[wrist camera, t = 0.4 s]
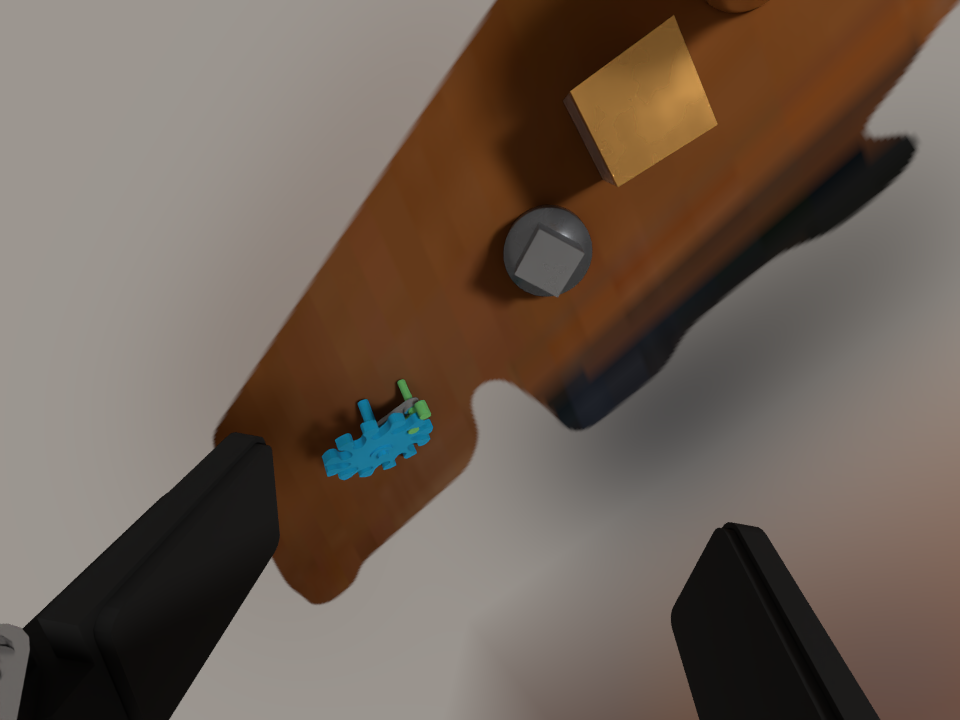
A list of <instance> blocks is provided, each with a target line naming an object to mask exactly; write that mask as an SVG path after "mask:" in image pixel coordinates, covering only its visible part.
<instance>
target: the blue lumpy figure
mask: <svg viewBox="0 0 960 720" xmlns="http://www.w3.org/2000/svg"><path fill="white" fill-rule="evenodd" d="M397 384H398V386H399V389H400V391H401V393H402V395H403V398H404V400H405V402H403V403H402V404H401V405H399V406H398V407H397V408H395V409H394V410H393V411H391V412H390V413H389V414H387V415H386V416H385V417H383V418H382V419H381V420H379V421H378V422H376V419H375V417H374V414H373V412H372V409H371V406H370V404H369V401H368V400H367V399H364V400H361V401H359V402H358V407H359V409H360V412H361V415H362V417H363V420H364V423H362V424H361V425H360V427H361V430H362V433H363V435H362V436H361V438H359V439H358V440H355V441H353V439H352V436H351V434H349V433H347V434H344V435H342V436H340V437H339V438H337V439H335V442H336V445H337V448H338V450H339V451H343V452H338V451H337V450H336V449H329V450H327V451H326V452H325V453H324V454H323V456H322V459H323V462H324V466H325V470H326V473H327V476H333V475H335V474H337V473H338V476H339V478H340V479H342V480H346V479H348V478H350V477H351V476H352V475H354V474H355V473H357V472H358V473H359V476H360V477H367V476H370V475H371V474H373V471H374V470H375V468H377V467H378V466H379V465H380V464H382V467H383V469H384V470H386V469H389V468H392V467H394V466H395V465H396V462H395V458H396V457H397V455H399V454H401V453H403V456H404V458H409V457H411V456H413V455H414V454H416V453H417V452H416V449H415V447H414V445H413V443H417V444H418V445H419V446H422V445H424V444H426V443H427V442H428V441H429V440H430V436H429V434H428V433H431V431H432V429H433V426H432V424H431V421H430V419H427V420H423V419H426V418H428V417H430V415H431V413H430V410H429V408H428V406H427V404H426V402H425V400H421V401H419V399H418V398H412V395H411V393H410V391H409V389H408V386H407V384H406V382H405V380H403V379H402V380H399V381H398V382H397ZM407 415H409V416H407ZM406 416H407V417H406ZM405 417H406V418H405Z"/></svg>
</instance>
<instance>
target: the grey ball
mask: <svg viewBox="0 0 960 720" xmlns="http://www.w3.org/2000/svg"><path fill="white" fill-rule="evenodd" d="M591 258H592V242H591V238H590V235H589V233H588V231H587V229H586V227H585V226H584V224H583V223H582V221H581V220H580V219H579V218H578V217H577V216H576V215H575V214H574V213H573V212H571V211H570V210H568V209H566V208H564V207H560V206H556V205H542V206H537V207H534V208H532V209H530V210H528V211H526V212H524V213H523V214H522V215H520V216H519V217H518V218H517V219H516V221H515V222H514V223H513V224H512V226H511V228H510V230H509V232H508V234H507V238H506V241H505V245H504V263H505V267H506V270H507V272H508V274H509V276H510V278H511V279H512V280H513V282H514V283H515V284H516V285H517V286H518V287H520V288H521V289H523V290H524V291H526V292H528V293H530V294H533V295H537V296H556V297H558V296H559V295H560V294H562V293H564V292H566V291H568V290H570V289H571V288H573V287H574V286H575V285H577V284H578V283H579V282H580V281H581V280H582V278H583V277H584V275H585V274H586V272H587V270H588V268H589V266H590V262H591Z"/></svg>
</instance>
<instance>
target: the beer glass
mask: <svg viewBox="0 0 960 720" xmlns="http://www.w3.org/2000/svg"><path fill="white" fill-rule="evenodd" d="M705 1H706V2H707V3H708V4H710V5H711V6H712V7H714V8H716V9H718V10H720V11H723V12H728V13H740V12H746V11H750V10H752V9H755V8H757V7H759V6H761V5H763V4H765V3H766V2H768V1H769V0H705Z"/></svg>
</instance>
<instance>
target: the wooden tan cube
mask: <svg viewBox="0 0 960 720" xmlns="http://www.w3.org/2000/svg"><path fill="white" fill-rule="evenodd" d="M563 102H564V104H565V106H566V108H567V110H568V112H569V114H570V116H571V118H572V120H573V122H574V124H575V126H576V128H577V130H578V132H579V134H580V136H581V138H582V140H583V142H584V144H585V146H586V147H587V149H588V151H589V153H590V155H591V157H592V159H593V161H594V163H595V165H596V167H597V169H598V171H599V173H600V175H601V177H602V179H603V180H604V181H607V182H609V183H611V184H613V185H615V186H617V187H619V186H621V185H622V184H624V183H625V182H627V181H628V180H630V179H632V178H633V177H635V176H636V175H638V174H640V173H641V172H643V171H644V170H646V169H648V168H649V167H651V166H652V165H654V164H655V163H657V162H659V161H660V160H662V159H663V158H665V157H667V156H668V155H670V154H671V153H673V152H675V151H676V150H678V149H679V148H681V147H682V146H684V145H686V144H687V143H689V142H690V141H692V140H694V139H695V138H697V137H698V136H700V135H702V134H703V133H705V132H706V131H708V130H709V129H711V128H713V127H714V126H716V125H717V122H716V120H715V117H714V115H713V112H712V109H711V107H710V104H709V102H708V99H707V97H706V94H705V92H704V89H703V87H702V84H701V82H700V79H699V77H698V74H697V72H696V69H695V67H694V64H693V62H692V59H691V57H690V54H689V52H688V49H687V47H686V44H685V42H684V39H683V37H682V34H681V32H680V29H679V27H678V24H677V22H676V19H675V17H674V15H673V16H672V17H671V18H669V19H668V20H667V21H665V22H664V23H662V24H661V25H660V26H658V27H657V28H656V29H654V30H653V31H652V32H650V33H649V34H647V35H646V36H645V37H643V38H642V39H641V40H639V41H638V42H637V43H635V44H634V45H632V46H631V47H630V48H628V49H627V50H626V51H624V52H623V53H622V54H620V55H619V56H618V57H616V58H615V59H613V60H612V61H611V62H609V63H608V64H607V65H605V66H604V67H603V68H601V69H600V70H598V71H597V72H596V73H594V74H593V75H592V76H590V77H589V78H588V79H586V80H585V81H583V82H582V83H581V84H579V85H578V86H577V87H575V88H574V89H573V90H571V91H570V92H569V94H568V95H567V96H566V98H565V99H564V100H563Z"/></svg>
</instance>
